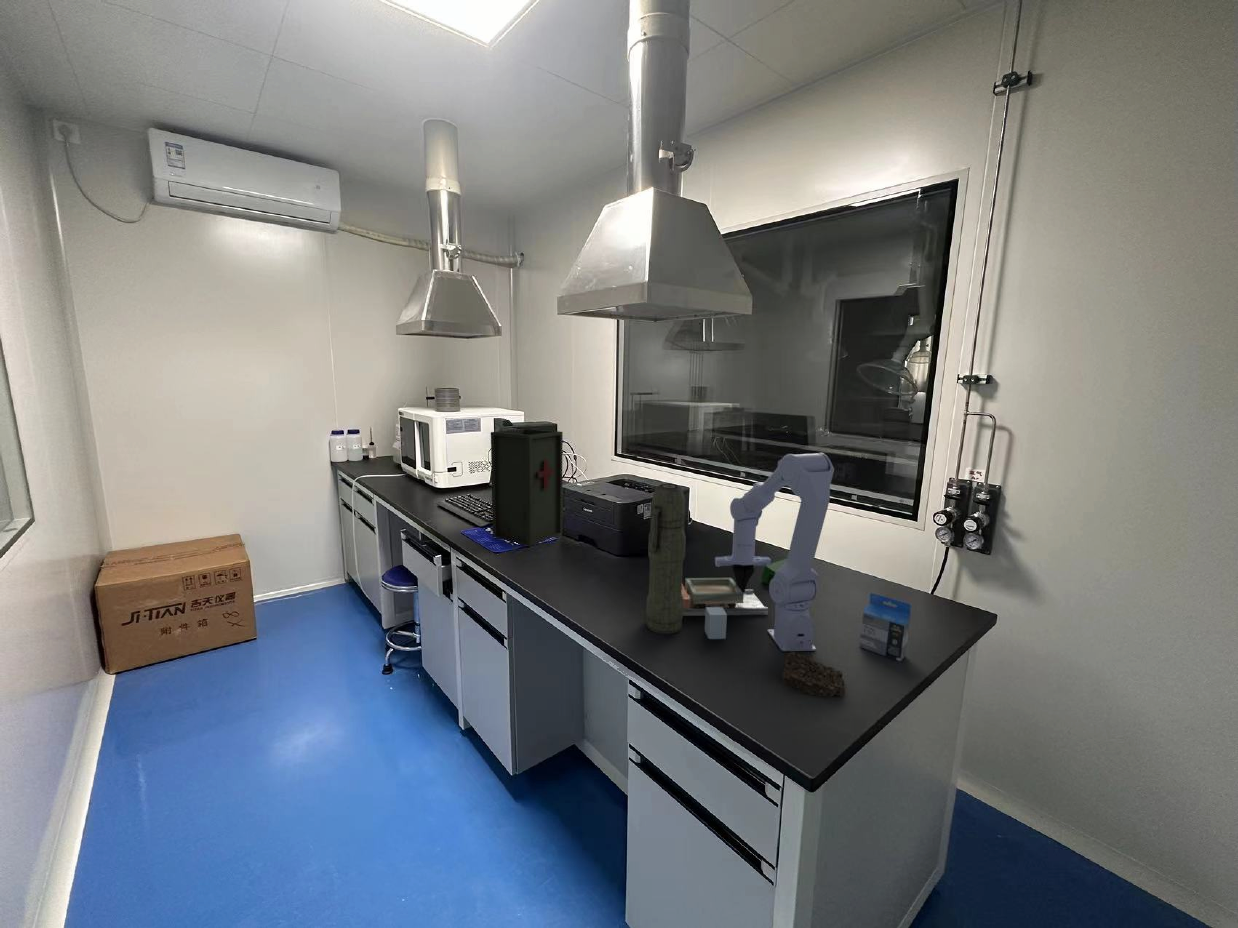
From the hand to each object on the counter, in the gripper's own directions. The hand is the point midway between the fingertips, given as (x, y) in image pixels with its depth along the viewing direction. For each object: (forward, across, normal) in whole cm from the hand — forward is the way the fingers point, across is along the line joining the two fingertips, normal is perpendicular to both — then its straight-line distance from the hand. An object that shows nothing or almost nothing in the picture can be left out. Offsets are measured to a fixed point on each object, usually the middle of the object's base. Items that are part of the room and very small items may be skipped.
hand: (740, 591), depth 137 cm
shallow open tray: (+3, +8, 0) cm, 8 cm away
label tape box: (+4, -25, +25) cm, 36 cm away
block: (+4, +11, +16) cm, 20 cm away
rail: (+4, +6, 0) cm, 7 cm away
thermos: (+4, +22, +11) cm, 25 cm away
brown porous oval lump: (+4, -3, +37) cm, 38 cm away
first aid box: (+4, +63, -62) cm, 89 cm away
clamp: (+4, -18, -15) cm, 24 cm away
